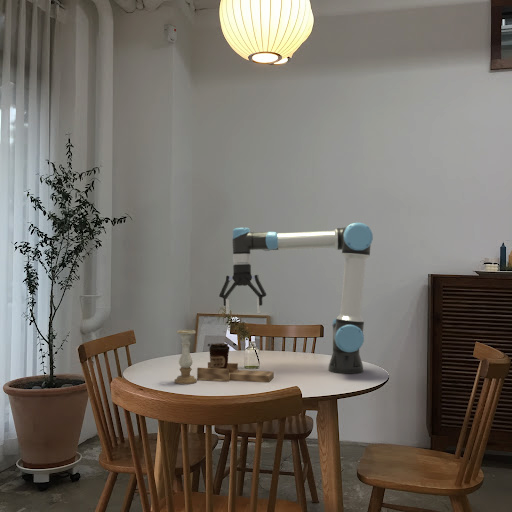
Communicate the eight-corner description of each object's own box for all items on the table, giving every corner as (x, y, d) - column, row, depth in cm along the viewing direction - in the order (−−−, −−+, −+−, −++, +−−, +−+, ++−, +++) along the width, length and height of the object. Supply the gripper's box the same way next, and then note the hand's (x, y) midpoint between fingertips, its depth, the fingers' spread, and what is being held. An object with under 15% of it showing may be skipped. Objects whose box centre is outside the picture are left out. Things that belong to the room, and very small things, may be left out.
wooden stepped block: (274, 376, 241) (274, 365, 242) (267, 383, 227) (267, 371, 227) (208, 373, 248) (208, 362, 248) (197, 379, 233) (197, 367, 233)
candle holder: (176, 384, 223) (176, 332, 224) (172, 380, 232) (173, 329, 232) (198, 383, 226) (198, 331, 226) (194, 379, 234) (194, 329, 234)
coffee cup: (226, 377, 234) (226, 345, 234) (206, 376, 236) (206, 344, 236) (231, 373, 243) (231, 342, 243) (212, 373, 244) (212, 342, 244)
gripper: (272, 263, 249) (273, 312, 248) (216, 264, 253) (217, 313, 253) (269, 263, 241) (270, 314, 241) (211, 264, 246) (212, 314, 246)
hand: (243, 313), depth 247 cm, fingers open, 13 cm apart
